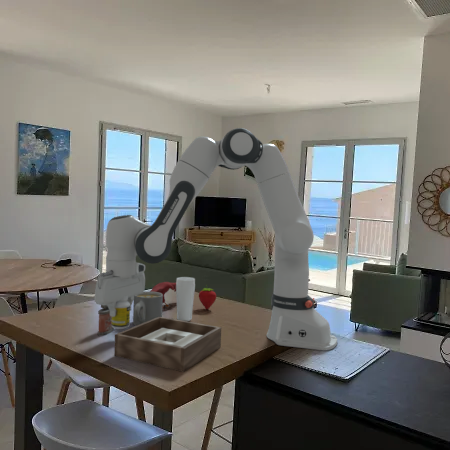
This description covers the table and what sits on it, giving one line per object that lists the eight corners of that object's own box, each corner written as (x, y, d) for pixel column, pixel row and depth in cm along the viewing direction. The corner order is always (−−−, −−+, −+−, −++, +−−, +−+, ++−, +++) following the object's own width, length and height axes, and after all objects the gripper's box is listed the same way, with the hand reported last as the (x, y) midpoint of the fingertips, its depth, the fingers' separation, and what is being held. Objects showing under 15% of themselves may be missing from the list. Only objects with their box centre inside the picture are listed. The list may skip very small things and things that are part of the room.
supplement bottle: (129, 329, 136) (129, 297, 136) (110, 329, 136) (111, 297, 135) (130, 323, 142) (130, 293, 141) (112, 324, 141) (112, 293, 140)
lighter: (107, 327, 150) (107, 298, 150) (116, 328, 150) (117, 299, 149) (95, 335, 142) (95, 303, 142) (105, 336, 142) (105, 304, 141)
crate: (220, 347, 136) (221, 327, 135) (183, 371, 116) (184, 348, 115) (158, 335, 145) (159, 316, 144) (114, 355, 125) (114, 334, 124)
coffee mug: (145, 317, 165) (146, 290, 164) (167, 322, 160) (168, 294, 159) (119, 325, 153) (120, 296, 153) (142, 331, 148) (143, 300, 148)
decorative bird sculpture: (134, 326, 168) (158, 300, 163) (120, 306, 170) (143, 281, 165) (175, 310, 193) (196, 287, 188) (162, 293, 196) (183, 270, 191)
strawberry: (211, 312, 176) (212, 286, 175) (194, 309, 179) (195, 284, 179) (218, 309, 181) (219, 284, 180) (203, 306, 184) (203, 282, 184)
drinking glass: (192, 322, 160) (194, 280, 159) (173, 321, 160) (175, 279, 159) (194, 317, 167) (195, 277, 166) (176, 316, 167) (177, 276, 166)
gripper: (106, 274, 127) (106, 323, 128) (148, 265, 145) (148, 307, 146) (89, 272, 129) (89, 320, 130) (132, 263, 148) (132, 305, 149)
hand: (120, 313), depth 138 cm, fingers closed on supplement bottle, 5 cm apart
